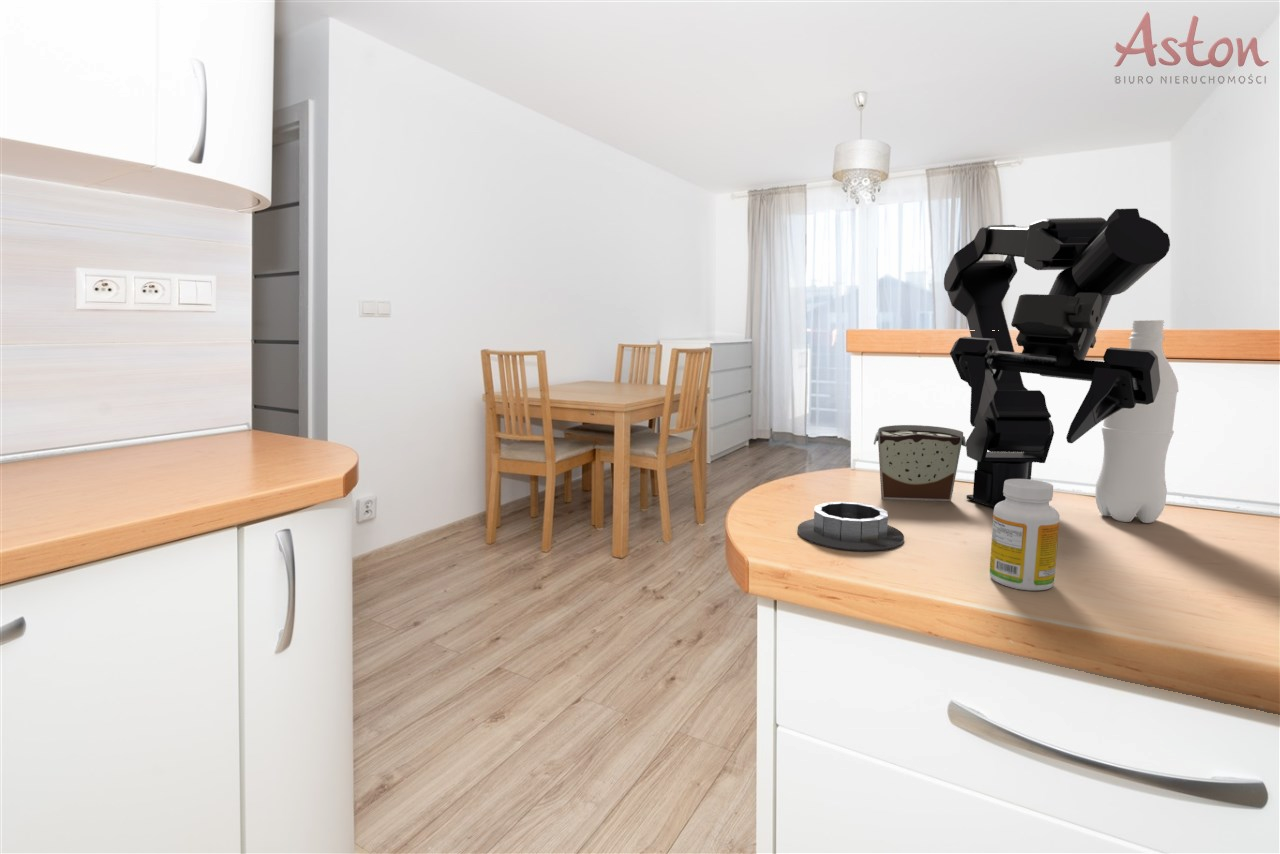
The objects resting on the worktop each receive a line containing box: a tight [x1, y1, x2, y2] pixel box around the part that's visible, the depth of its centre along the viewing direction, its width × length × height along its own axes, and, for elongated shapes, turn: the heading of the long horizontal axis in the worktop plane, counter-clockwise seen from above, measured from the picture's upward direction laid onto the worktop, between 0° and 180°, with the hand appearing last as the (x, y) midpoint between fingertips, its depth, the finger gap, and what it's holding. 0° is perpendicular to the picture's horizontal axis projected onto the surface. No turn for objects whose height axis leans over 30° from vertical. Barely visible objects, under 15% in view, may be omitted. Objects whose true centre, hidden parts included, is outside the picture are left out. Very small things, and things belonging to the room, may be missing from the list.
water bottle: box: [1094, 319, 1179, 524], centre depth 80 cm, size 7×7×25 cm
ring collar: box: [797, 501, 905, 552], centre depth 76 cm, size 12×12×3 cm
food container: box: [873, 424, 967, 502], centre depth 94 cm, size 12×6×10 cm, turn 81°
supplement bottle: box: [989, 478, 1060, 592], centre depth 61 cm, size 5×5×10 cm
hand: (1018, 432), depth 67 cm, fingers open, 9 cm apart
